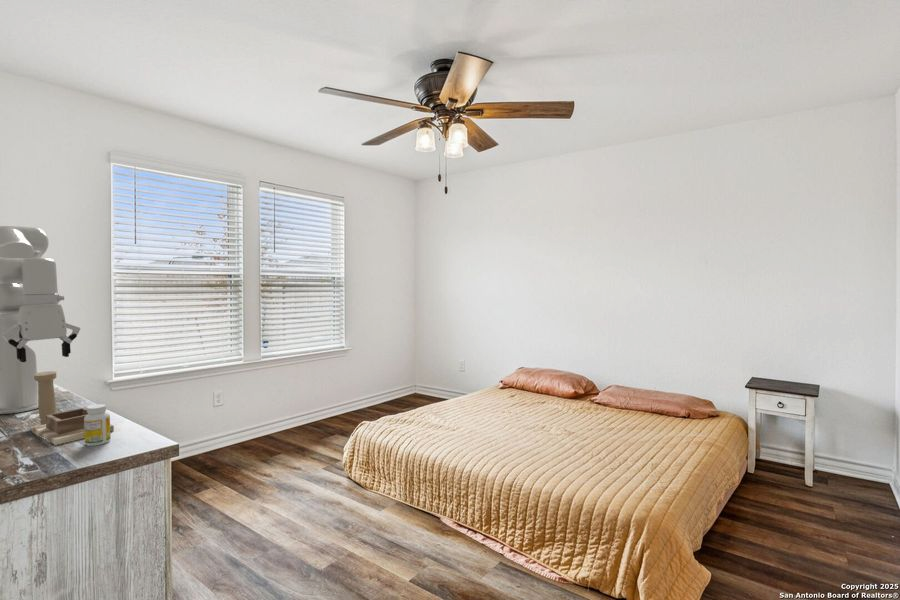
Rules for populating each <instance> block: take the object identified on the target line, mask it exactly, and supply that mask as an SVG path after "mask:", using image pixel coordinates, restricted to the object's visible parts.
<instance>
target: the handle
mask: <svg viewBox="0 0 900 600" xmlns="http://www.w3.org/2000/svg"><path fill="white" fill-rule="evenodd" d="M34 379H35V380H36V381H37V382H38V405H39V406H38V408H37V409H38V414H39V419H40V420H39V422H40V425H44V424H46V416H45V415H49V414H54V413H57V402H56V393H55V387H54V386H55V385H54V380H55V379H57V371H54V370H53V371H51V370H50V371H43V372H41V371H40V372H37V373H36V374H34Z"/></svg>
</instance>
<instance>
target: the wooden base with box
mask: <svg viewBox="0 0 900 600" xmlns="http://www.w3.org/2000/svg"><path fill="white" fill-rule="evenodd" d="M86 415H88V413H87V407H85V406H84V407H81V408H75V409H70V410H65V411H60V412H56V413H54V414H49V415H45V416H46V424H44V425H42V424H39V425H36V426H32V427H31V430H32V433H33V434H34V433H35V434H34V435H36V434H37V435H36V436H38V435H39V436H41V437H43V438H45V439H46V440H48V441H50V442H51V443H53V444H54V445H53V444H52V445H53V446H57V444H59V445H62V443H63V444H66V442H67V443H71V442H74V440H75V441H79V440H83V439H85V432H84V418H85V416H86ZM113 430H114V431H115V428H114V425H113V424H111V423H110V431H111V432H114V431H113ZM39 436H38V437H39ZM41 437H40V438H41ZM43 438H42V439H43ZM82 438H83V439H82ZM45 439H44V440H45ZM78 439H79V440H78ZM46 440H45V441H46ZM48 441H47V442H48ZM70 441H71V442H70ZM50 442H49V443H50ZM51 443H50V444H51Z"/></svg>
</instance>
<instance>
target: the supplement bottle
mask: <svg viewBox="0 0 900 600" xmlns="http://www.w3.org/2000/svg"><path fill="white" fill-rule="evenodd" d="M86 408H87V413H88V415H86V416H85V418H84V432H85V438H84V445H85V446H88V447H94V446H95V447H96V446H101V445H104V444H107V443H109V442H110V441H111V432H110V424H111V417H110V415H111V414H110V413H109V412H107V405H106V404H104V403H103V404H101V403H99V404H98V403H97V404H92V405H90V406H87V407H86Z"/></svg>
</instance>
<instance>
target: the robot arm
mask: <svg viewBox="0 0 900 600" xmlns="http://www.w3.org/2000/svg"><path fill="white" fill-rule="evenodd" d="M48 248H49V237H48V235H47V234H46V232H45V231H44V230H42V229H40V228H38V227H32V226H31V227H29V226H28V227H27V226H17V225H16V226H15V225H14V226H13V225H0V415H8V414H17V413H22V412H28V411H32V410H36V409H39V408H38V406H39V405H38V390H39V385H38V381H36V380H35V379H34V374H36V373H38V370H37V369H38V367H37V365H38V364H37V355H36V352H35V351H34V350H33V348H31V347H30V346H28V345H27V344H28V342H30V341H43V340H52V339H59V340H61V341H62V343H61V356H62V357H64V358H68V357H69V356H70V354H71V353H72V352H71V350H72V349H71V343H72V342H73V341H74V340H75V339H76V338H77V337H78V335H79V333H80V331H81V328H80V327H78V326H76V325H73V324H70V323H67V322H66V317H65V313H64V309H63V306H62V304H60V302H61V301H65V296H64V295H60V294H59V292H58V290H59V289H58V277H57V263H56V261H55V260H54V259H52V258H49V257H48V258H47V257H43V256H44V254H45V253H47V251H48ZM20 284H22V286H21V285H20ZM67 329H69V330H71V331H72V332H71V334H69V335H68V336H67V333H68V332H67Z"/></svg>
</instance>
